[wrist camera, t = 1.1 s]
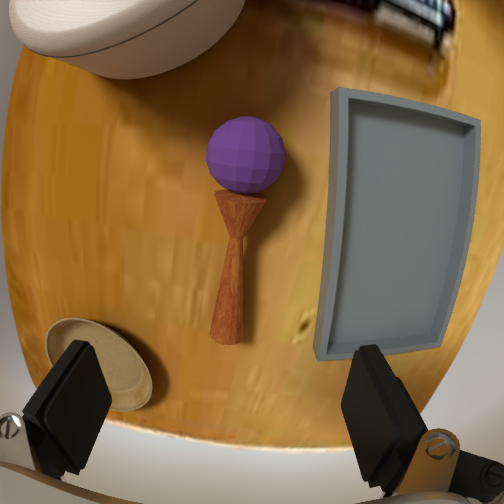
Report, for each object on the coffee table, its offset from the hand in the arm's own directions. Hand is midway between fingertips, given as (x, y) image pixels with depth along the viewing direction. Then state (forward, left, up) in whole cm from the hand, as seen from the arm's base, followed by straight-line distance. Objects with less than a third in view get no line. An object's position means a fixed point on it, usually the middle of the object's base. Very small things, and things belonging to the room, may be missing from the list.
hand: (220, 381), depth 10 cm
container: (-23, -8, -19) cm, 31 cm away
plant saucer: (+16, -17, -19) cm, 30 cm away
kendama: (0, 0, -19) cm, 19 cm away
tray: (0, +16, -19) cm, 24 cm away
